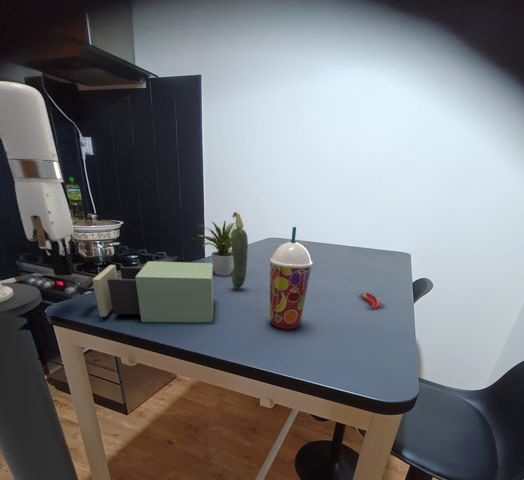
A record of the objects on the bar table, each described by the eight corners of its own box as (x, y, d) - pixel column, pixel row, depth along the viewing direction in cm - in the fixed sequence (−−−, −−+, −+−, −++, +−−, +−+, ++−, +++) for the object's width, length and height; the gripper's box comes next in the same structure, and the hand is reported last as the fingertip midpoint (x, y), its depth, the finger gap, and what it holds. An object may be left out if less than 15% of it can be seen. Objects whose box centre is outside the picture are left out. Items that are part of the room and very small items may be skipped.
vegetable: (248, 289, 89) (251, 212, 79) (241, 293, 86) (243, 213, 76) (235, 286, 91) (236, 210, 81) (227, 290, 87) (227, 211, 77)
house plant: (213, 264, 111) (212, 214, 103) (250, 270, 107) (252, 218, 100) (193, 274, 99) (190, 218, 91) (233, 280, 95) (234, 223, 88)
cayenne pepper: (380, 310, 80) (381, 303, 79) (361, 307, 81) (362, 300, 80) (379, 296, 90) (380, 289, 89) (362, 294, 91) (364, 287, 91)
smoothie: (276, 313, 74) (283, 222, 65) (309, 322, 71) (322, 227, 61) (258, 325, 68) (264, 226, 58) (294, 335, 64) (307, 232, 55)
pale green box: (141, 322, 66) (135, 276, 61) (152, 301, 77) (147, 261, 72) (212, 322, 68) (211, 278, 63) (213, 301, 79) (212, 263, 74)
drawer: (77, 316, 64) (68, 278, 61) (96, 297, 74) (89, 264, 70) (167, 317, 67) (164, 281, 63) (174, 298, 77) (171, 266, 73)
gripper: (35, 172, 63) (61, 265, 71) (-13, 171, 50) (26, 285, 58) (76, 173, 64) (96, 265, 72) (39, 173, 51) (69, 285, 59)
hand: (64, 274), depth 65 cm, fingers closed
